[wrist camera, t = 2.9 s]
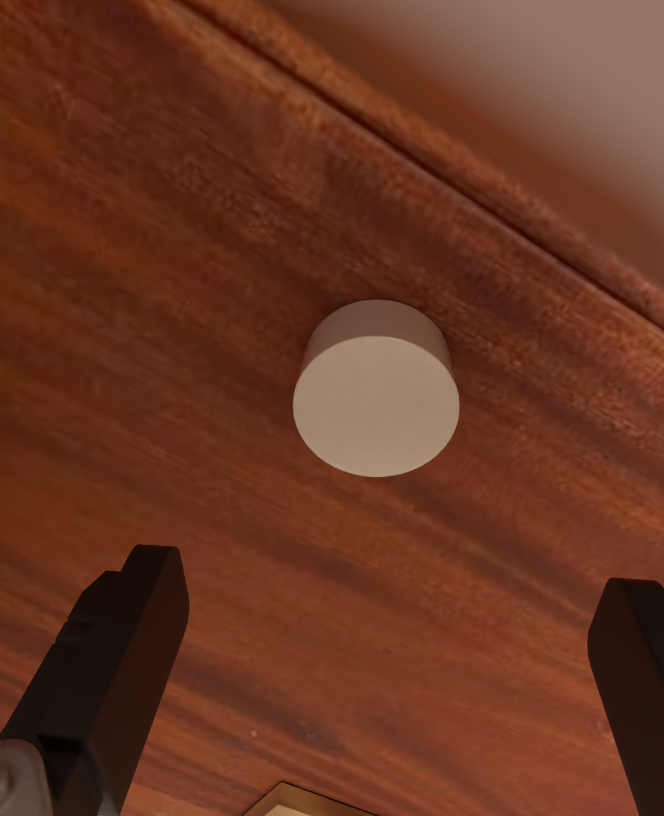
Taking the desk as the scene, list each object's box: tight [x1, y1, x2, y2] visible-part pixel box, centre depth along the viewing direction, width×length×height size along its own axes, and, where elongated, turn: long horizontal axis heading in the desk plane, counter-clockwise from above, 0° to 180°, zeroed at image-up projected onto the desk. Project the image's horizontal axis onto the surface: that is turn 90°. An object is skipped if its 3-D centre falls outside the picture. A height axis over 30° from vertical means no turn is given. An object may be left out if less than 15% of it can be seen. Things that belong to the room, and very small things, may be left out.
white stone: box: [293, 299, 460, 477], centre depth 17 cm, size 5×5×3 cm
